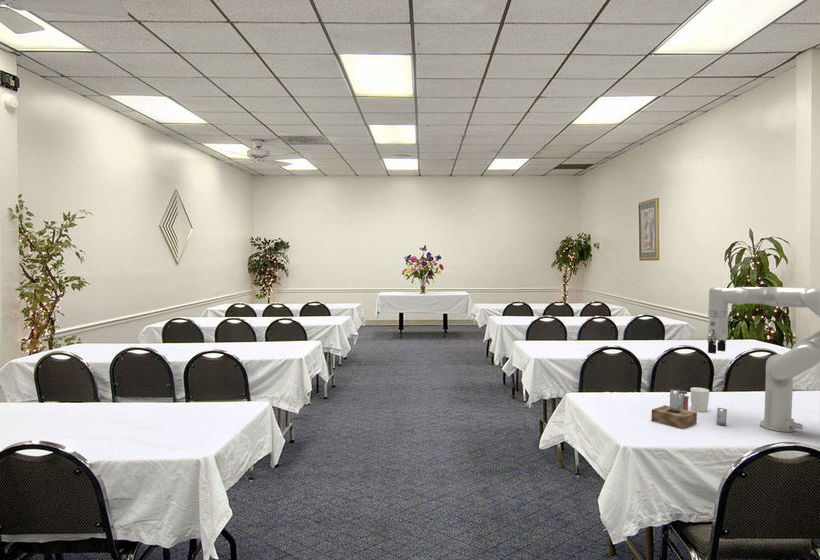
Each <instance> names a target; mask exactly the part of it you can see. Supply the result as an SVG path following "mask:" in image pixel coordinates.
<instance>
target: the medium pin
mask: <svg viewBox="0 0 820 560" xmlns="http://www.w3.org/2000/svg"><path fill="white" fill-rule="evenodd" d="M679 409H683V395H682V394H679Z"/></svg>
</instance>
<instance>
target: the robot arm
mask: <svg viewBox="0 0 820 560" xmlns="http://www.w3.org/2000/svg"><path fill="white" fill-rule="evenodd" d="M730 304H731V305H737V306H738V305H739V306H741V305H744V304H751V305H752V304H753V305H758V304H759V305H766V306H770V307H776V308H777V307H779V308H805V309H806V308H807V309H809V310H810V311H811V312H813V313H814V314H815V315H816V316H817V317H819V318H820V288H819V287H810V286H809V287H808V286H804V287H802V286H801V287H800V286H793V287H792V286H768V287H766V286H763V287H761V286H760V287H759V286H758V287H757V286H752V287H751V286H736V287H733V288H732V287H731V288H730V287H729V288H727V287H723V286H722V287H721V286H716V287H715V286H713V287H710V288H709V290H708V314H707V315H708V318H709V321H708V327H707V328H708V329H707V353H708V354H714V355H715V354H716V353H717V351H718V352H726V345H727V343H726V342H727V339H729V335H728V334H729V327H728V326H729V325H728V324H729V323H728V318H729V317H728V316H729V315H728V314H729V313H728V312H729V305H730ZM819 363H820V329H819V330H818V331H816V332H815V333H813V334H812V335H810V336H808V337H805V338H804V339H803V340H800V341H797V343H796V342H795V344H793V345H792V347H791V349H789V350H788V351H787V352H784V353H782V354H781V353H776V354H773V355H770V356H769V357H768V358H767V359H766V362H765V388H764V389H765V390H764V391H765V392H764V394H765V395H764V413H763V414H764V417H763V420H761V421H759V426H761V427H762V428H765V429H768V430H770V431H777V432H783V433H792V432H795V431H796V429H799V430H803V429H804V424H802V423H800V422H795V419H794V418H792V416H793V415H792V414H793V413H792V411H793V410H792V409H793V392H794V387H793V386H794V378H796V377H797V376H799V375H801V374H803V373H805V372H807V371H809V370H811V369H812V368H814V367H815V366H817V365H818V364H819Z"/></svg>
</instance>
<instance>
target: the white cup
mask: <svg viewBox="0 0 820 560" xmlns="http://www.w3.org/2000/svg"><path fill="white" fill-rule="evenodd" d="M709 397H710V390H709V389H708V388H705V387H704V388H703V387H690V408H691V411H693V412H697V413H698V412H700V413H706V412H708V408H709V407H708V406H709V399H710V398H709Z"/></svg>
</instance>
